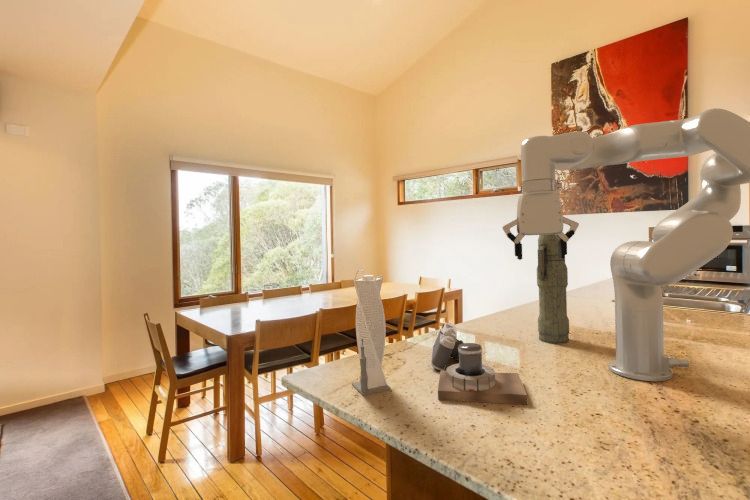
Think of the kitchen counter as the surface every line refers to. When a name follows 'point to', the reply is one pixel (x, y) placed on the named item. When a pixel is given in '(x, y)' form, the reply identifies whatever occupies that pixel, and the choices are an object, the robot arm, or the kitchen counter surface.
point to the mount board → (492, 395)
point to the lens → (470, 359)
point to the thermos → (552, 292)
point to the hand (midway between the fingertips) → (540, 258)
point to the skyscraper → (370, 334)
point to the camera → (445, 346)
